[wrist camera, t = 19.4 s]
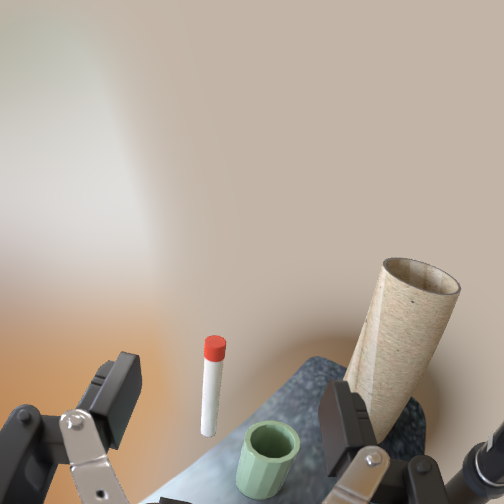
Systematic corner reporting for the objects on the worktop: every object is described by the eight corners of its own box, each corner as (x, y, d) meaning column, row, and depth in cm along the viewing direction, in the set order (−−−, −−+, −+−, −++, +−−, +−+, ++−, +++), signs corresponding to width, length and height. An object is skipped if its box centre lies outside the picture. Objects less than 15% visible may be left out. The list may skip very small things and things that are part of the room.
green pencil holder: (284, 467, 33) (302, 425, 30) (277, 503, 28) (297, 467, 25) (241, 459, 34) (251, 415, 31) (230, 494, 29) (238, 456, 25)
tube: (342, 454, 36) (418, 297, 27) (317, 405, 45) (367, 256, 36) (398, 438, 38) (476, 293, 29) (370, 396, 47) (425, 258, 38)
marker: (218, 428, 39) (228, 338, 33) (213, 439, 37) (222, 350, 31) (203, 423, 39) (208, 333, 33) (198, 435, 37) (202, 344, 31)
